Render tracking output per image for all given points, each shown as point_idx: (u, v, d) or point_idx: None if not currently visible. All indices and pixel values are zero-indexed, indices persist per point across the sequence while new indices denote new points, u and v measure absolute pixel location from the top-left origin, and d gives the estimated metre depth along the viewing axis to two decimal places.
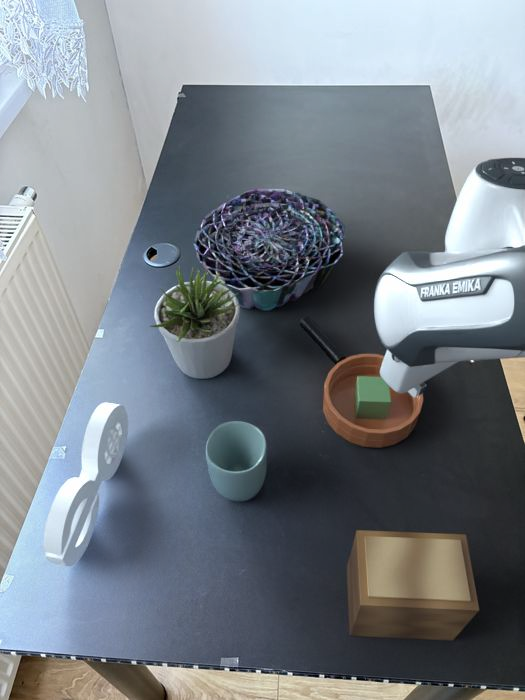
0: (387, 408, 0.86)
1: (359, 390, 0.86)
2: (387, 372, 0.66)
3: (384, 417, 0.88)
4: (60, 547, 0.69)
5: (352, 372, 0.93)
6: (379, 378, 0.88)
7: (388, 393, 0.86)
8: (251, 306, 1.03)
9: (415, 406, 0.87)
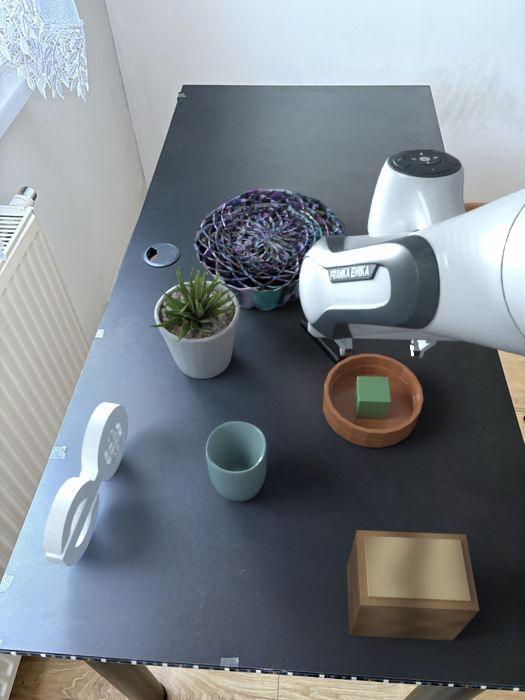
0: (387, 408, 0.86)
1: (359, 390, 0.86)
2: None
3: (384, 417, 0.88)
4: (60, 547, 0.69)
5: (352, 372, 0.93)
6: (379, 378, 0.88)
7: (388, 393, 0.86)
8: (251, 306, 1.03)
9: (415, 406, 0.87)
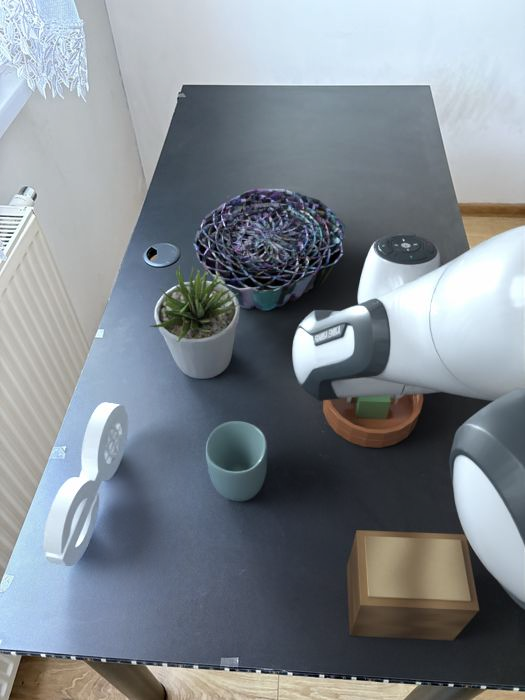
0: (387, 408, 0.86)
1: None
2: None
3: (384, 417, 0.88)
4: (60, 547, 0.69)
5: None
6: None
7: None
8: (251, 306, 1.03)
9: (415, 406, 0.87)
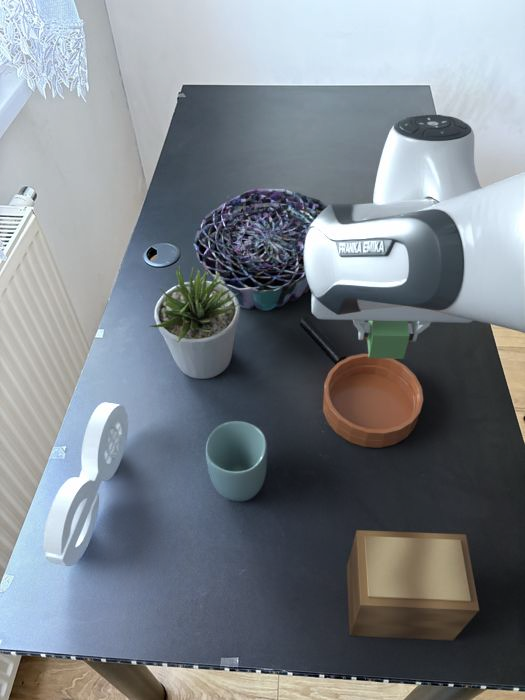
0: (405, 345, 0.75)
1: (373, 324, 0.75)
2: (312, 294, 0.73)
3: (402, 356, 0.77)
4: (60, 547, 0.69)
5: (352, 372, 0.93)
6: None
7: (406, 327, 0.75)
8: (251, 306, 1.03)
9: (415, 406, 0.87)
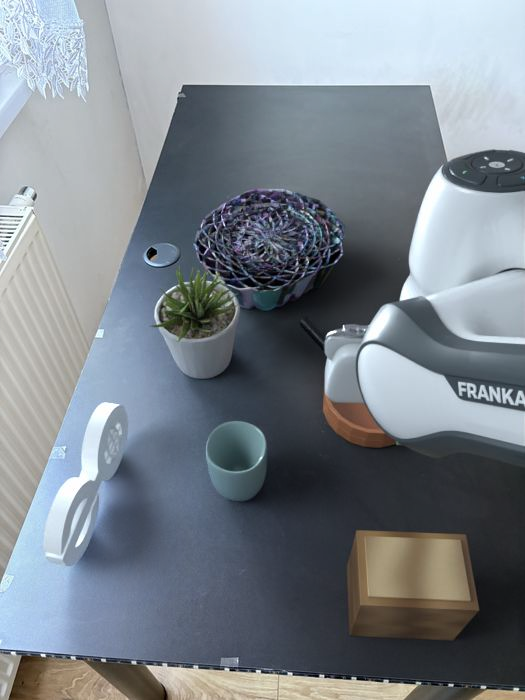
0: None
1: None
2: (326, 370, 0.57)
3: None
4: (60, 547, 0.69)
5: None
6: None
7: None
8: (251, 306, 1.03)
9: None
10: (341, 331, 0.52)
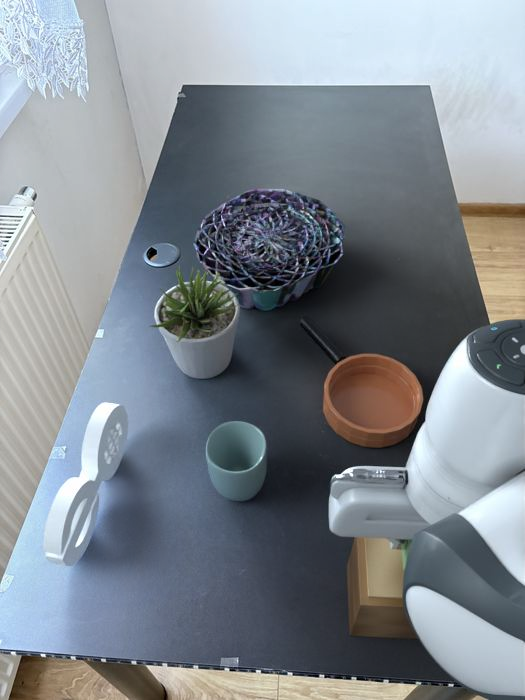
0: None
1: None
2: (330, 503, 0.53)
3: None
4: (60, 547, 0.69)
5: (352, 372, 0.93)
6: None
7: None
8: (251, 306, 1.03)
9: (415, 406, 0.87)
10: (349, 477, 0.48)
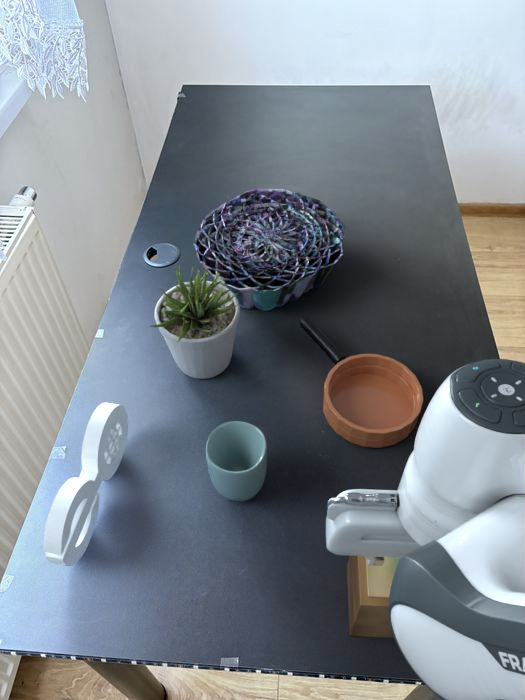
0: None
1: None
2: (327, 523, 0.57)
3: None
4: (60, 547, 0.69)
5: (352, 372, 0.93)
6: None
7: None
8: (251, 306, 1.03)
9: (415, 406, 0.87)
10: (344, 500, 0.51)
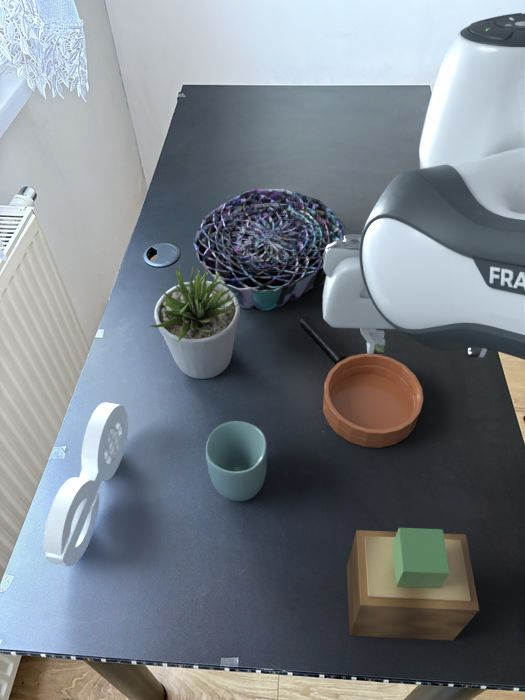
0: (443, 579, 0.59)
1: (402, 552, 0.60)
2: (324, 292, 0.53)
3: (438, 586, 0.61)
4: (60, 547, 0.69)
5: (352, 372, 0.93)
6: (430, 531, 0.61)
7: (445, 558, 0.59)
8: (251, 306, 1.03)
9: (415, 406, 0.87)
10: (342, 242, 0.47)
